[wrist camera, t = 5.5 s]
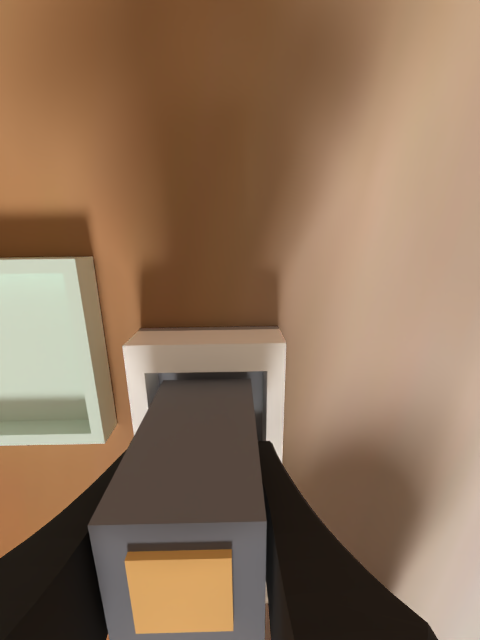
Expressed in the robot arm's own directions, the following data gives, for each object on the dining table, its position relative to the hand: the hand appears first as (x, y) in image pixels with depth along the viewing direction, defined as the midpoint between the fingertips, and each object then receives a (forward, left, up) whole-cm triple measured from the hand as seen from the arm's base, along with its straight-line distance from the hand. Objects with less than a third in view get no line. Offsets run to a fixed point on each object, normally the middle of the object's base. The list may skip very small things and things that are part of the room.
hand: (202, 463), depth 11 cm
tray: (-10, +3, -5) cm, 12 cm away
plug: (0, 0, -3) cm, 3 cm away
